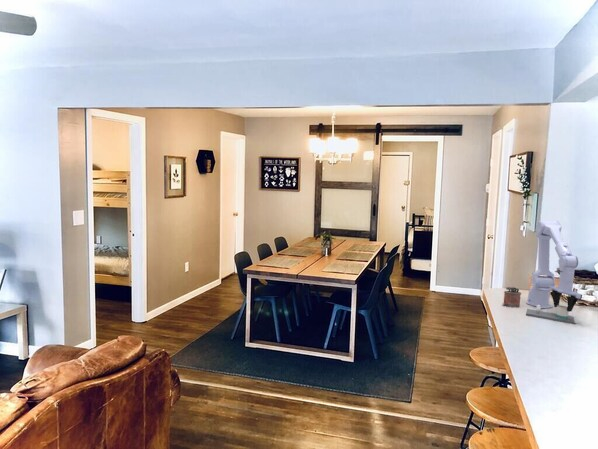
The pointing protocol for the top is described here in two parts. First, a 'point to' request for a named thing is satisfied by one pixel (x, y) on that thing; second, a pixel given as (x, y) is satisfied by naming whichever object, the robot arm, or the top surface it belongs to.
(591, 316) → the top surface
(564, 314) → the sleeve
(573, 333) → the top surface
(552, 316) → the pin board
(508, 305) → the lighter
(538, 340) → the top surface
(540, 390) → the top surface
